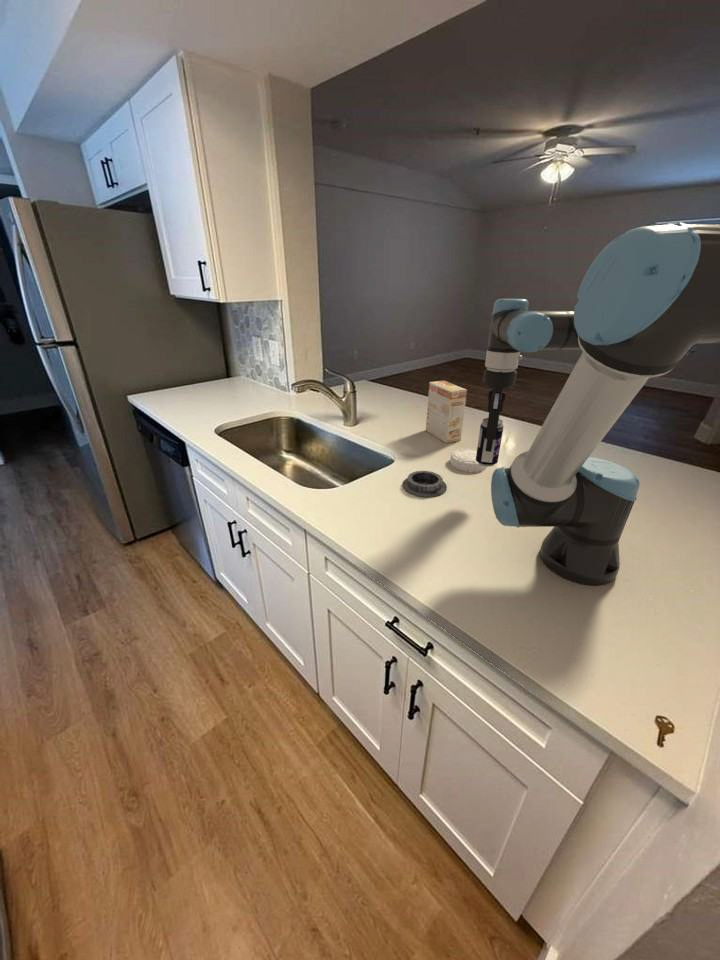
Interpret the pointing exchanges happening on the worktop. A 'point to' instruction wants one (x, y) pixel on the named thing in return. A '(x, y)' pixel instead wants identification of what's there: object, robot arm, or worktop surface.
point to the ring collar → (424, 484)
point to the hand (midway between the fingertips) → (487, 456)
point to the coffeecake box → (445, 410)
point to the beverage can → (481, 443)
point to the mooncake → (466, 460)
